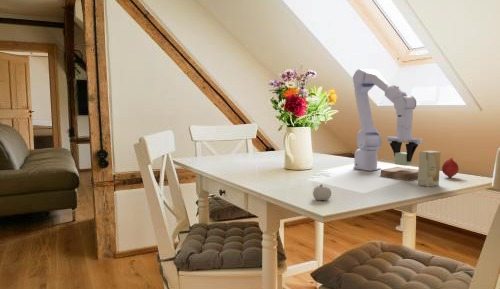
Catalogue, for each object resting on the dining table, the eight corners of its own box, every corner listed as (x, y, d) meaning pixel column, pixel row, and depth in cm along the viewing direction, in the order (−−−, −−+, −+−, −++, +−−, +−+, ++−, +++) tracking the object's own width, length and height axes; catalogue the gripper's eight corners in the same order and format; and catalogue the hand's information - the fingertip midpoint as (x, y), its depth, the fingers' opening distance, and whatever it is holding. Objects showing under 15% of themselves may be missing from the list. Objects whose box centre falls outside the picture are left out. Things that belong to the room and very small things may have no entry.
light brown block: (380, 176, 159) (380, 169, 158) (397, 172, 166) (397, 166, 166) (408, 180, 149) (408, 174, 149) (424, 176, 157) (425, 170, 156)
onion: (441, 178, 153) (442, 158, 153) (441, 175, 159) (442, 156, 158) (458, 179, 151) (459, 158, 150) (458, 177, 156) (459, 157, 155)
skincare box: (427, 187, 138) (429, 152, 136) (417, 184, 141) (418, 151, 140) (439, 185, 141) (441, 151, 139) (429, 183, 144) (430, 150, 143)
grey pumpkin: (321, 203, 116) (321, 186, 116) (308, 199, 121) (308, 183, 120) (335, 200, 120) (335, 183, 119) (322, 197, 124) (322, 180, 124)
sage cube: (394, 164, 157) (395, 152, 157) (401, 163, 160) (401, 152, 160) (405, 165, 154) (405, 154, 153) (411, 164, 157) (411, 153, 156)
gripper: (382, 126, 159) (381, 159, 160) (416, 127, 147) (414, 163, 149) (392, 125, 163) (391, 158, 165) (426, 127, 152) (424, 161, 153)
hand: (403, 160), depth 157 cm, fingers closed on sage cube, 4 cm apart
